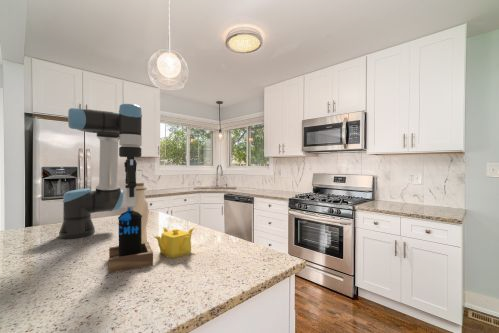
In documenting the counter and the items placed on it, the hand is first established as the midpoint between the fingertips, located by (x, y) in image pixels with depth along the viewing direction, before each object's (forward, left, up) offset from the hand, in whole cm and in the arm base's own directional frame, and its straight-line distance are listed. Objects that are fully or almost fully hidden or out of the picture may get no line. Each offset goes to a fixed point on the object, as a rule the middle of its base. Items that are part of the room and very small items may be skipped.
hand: (130, 203), depth 91 cm
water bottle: (-22, +4, -22) cm, 31 cm away
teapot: (-2, +17, -22) cm, 28 cm away
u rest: (0, 0, -22) cm, 22 cm away
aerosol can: (0, 0, -21) cm, 21 cm away
